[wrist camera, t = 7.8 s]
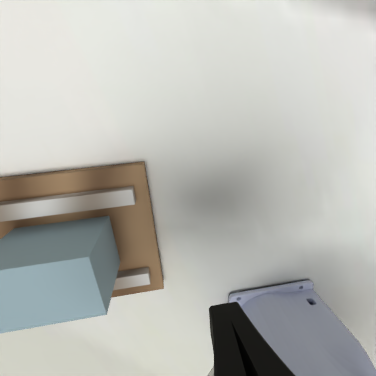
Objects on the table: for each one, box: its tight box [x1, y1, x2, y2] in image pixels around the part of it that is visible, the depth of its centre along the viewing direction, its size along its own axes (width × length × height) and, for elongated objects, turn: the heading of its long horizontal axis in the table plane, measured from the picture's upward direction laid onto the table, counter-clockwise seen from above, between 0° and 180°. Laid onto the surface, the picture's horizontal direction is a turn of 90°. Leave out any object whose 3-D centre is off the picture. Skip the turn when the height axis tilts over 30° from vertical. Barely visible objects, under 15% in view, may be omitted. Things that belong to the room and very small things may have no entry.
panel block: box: [0, 216, 120, 333], centre depth 14 cm, size 7×4×5 cm, turn 94°
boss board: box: [0, 162, 164, 297], centre depth 15 cm, size 20×12×5 cm, turn 94°
